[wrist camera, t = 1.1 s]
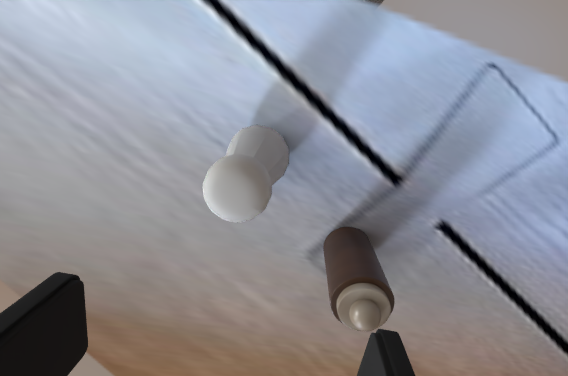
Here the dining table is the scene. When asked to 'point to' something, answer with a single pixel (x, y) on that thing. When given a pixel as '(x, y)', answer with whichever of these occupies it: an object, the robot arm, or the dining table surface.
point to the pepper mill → (356, 280)
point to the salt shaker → (246, 174)
